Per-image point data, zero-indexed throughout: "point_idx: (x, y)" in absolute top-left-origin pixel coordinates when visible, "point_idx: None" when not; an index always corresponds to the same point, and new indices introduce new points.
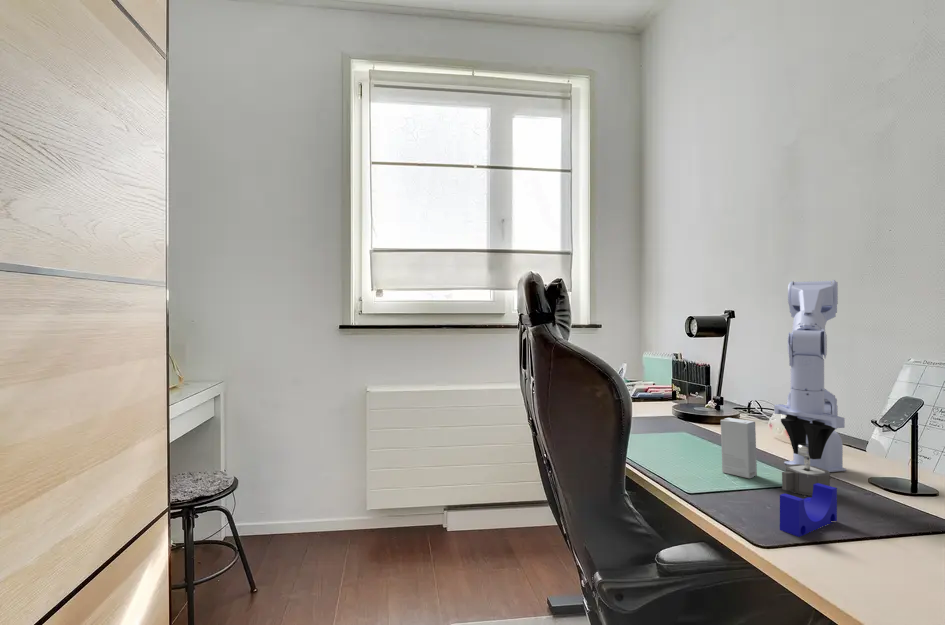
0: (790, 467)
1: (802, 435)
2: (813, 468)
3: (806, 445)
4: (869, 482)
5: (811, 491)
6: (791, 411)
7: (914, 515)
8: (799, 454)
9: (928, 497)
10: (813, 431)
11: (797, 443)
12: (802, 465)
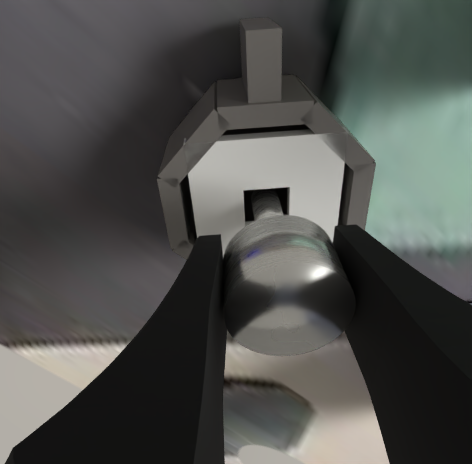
0: (328, 150)
1: (380, 381)
2: None
3: (284, 305)
4: (278, 384)
5: (181, 125)
6: None
7: (2, 306)
8: (289, 216)
9: None
10: (47, 428)
11: (361, 288)
12: None
